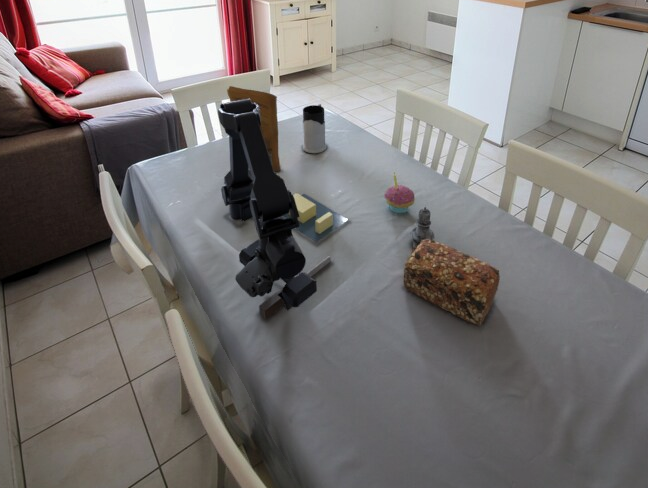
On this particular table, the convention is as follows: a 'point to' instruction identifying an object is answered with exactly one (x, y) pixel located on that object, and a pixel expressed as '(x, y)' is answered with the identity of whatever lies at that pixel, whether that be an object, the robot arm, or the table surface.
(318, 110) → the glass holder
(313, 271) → the knife
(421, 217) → the grey figurine
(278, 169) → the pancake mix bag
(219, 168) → the table surface
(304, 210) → the butter block
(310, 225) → the butter dish
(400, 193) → the cupcake
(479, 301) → the bread
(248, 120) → the robot arm
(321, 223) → the butter slice
